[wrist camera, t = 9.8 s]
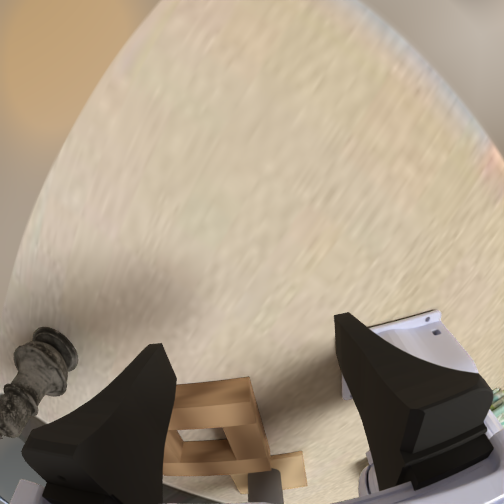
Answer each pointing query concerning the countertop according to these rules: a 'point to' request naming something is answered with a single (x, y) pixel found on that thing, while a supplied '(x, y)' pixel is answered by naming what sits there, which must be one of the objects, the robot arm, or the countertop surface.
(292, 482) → the coaster
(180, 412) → the wooden square frame
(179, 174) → the countertop surface
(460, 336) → the countertop surface
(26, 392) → the salt shaker
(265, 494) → the plug
